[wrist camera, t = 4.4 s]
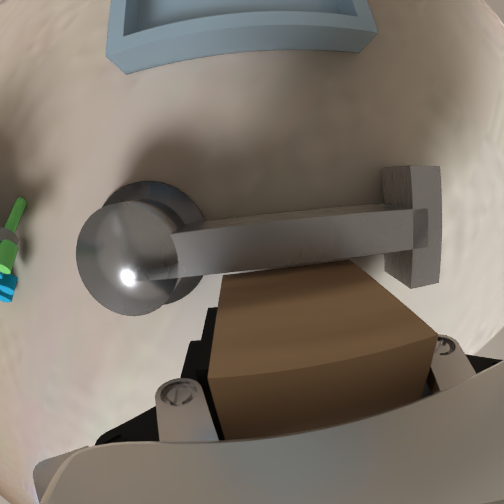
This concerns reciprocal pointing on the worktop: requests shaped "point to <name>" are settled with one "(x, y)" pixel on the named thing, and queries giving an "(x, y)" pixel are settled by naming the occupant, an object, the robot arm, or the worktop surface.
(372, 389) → the block
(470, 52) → the worktop surface
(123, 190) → the pivot base
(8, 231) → the gear
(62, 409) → the worktop surface
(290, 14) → the tray
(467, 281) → the worktop surface
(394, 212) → the lever
